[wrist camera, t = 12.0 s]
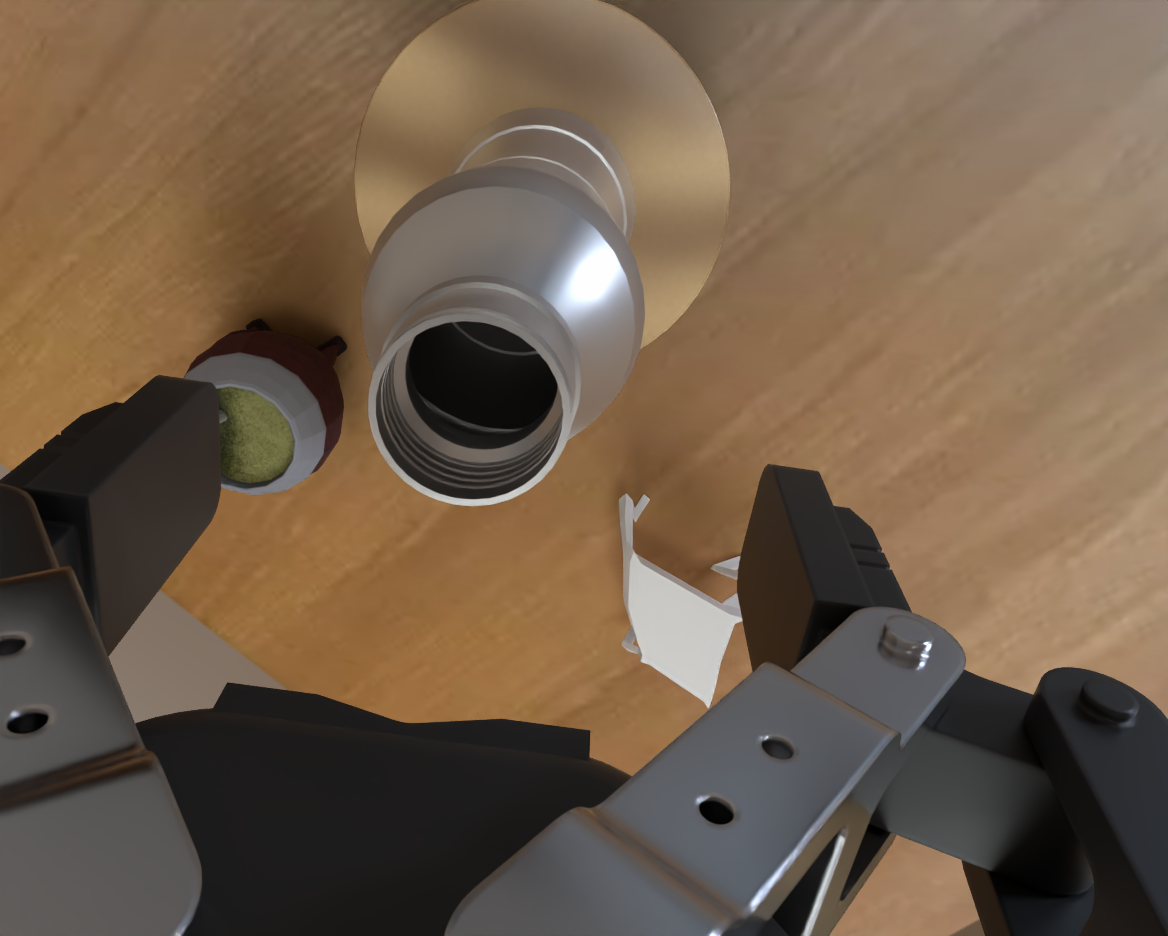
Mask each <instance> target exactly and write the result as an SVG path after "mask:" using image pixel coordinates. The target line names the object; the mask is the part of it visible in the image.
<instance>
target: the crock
mask: <svg viewBox="0 0 1168 936" xmlns="http://www.w3.org/2000/svg"><path fill="white" fill-rule="evenodd" d="M534 107H543V108H554V109H560V110H563V111H566V112H569V113H572V114H575V115H578V116H579V117H581V118H583V119H585V120H586V121H588V122H590V123H592V124H593V125H595V126H596V127H597V128H598V129H599V130H600V131H601V132H603V133H604V134H605V135H606V136H607V137H608V138H609V139H610V140H611V142H612V143H613V144H614V146H615V147H616V148H617V150H618V151H619V152H620V154H621V156H622V158H623V160H624V162H625V164H626V166H627V168H628V171H629V173H630V177H631V181H632V185H633V189H634V196H635V218H634V226H633V232H632V235H631V238H630V241H629V246H630V248H631V250H632V252H633V254H634V257H635V260H636V262H637V266H638V269H639V273H640V277H641V281H642V285H643V289H644V304H645V323H644V330H643V337H642V344H641V347H640V349H641V348H643V347H645V346H646V345H648V344H650V343H651V342H652V341H653V340H655V339H656V338H657V337H658V336H660V335H661V334H662V333H664V332H665V331H666V330H667V329H668V328H669V327H670V326H671V325H672V324H673V323H674V322H675V321H676V320H677V319H678V318H679V317H680V316H681V315H682V314H683V313H684V312H685V311H686V309H687V308H688V307H689V306H690V304H691V303H692V302H693V300H694V299H695V298H696V296H697V295H698V294H699V292H700V290H701V288H702V287H703V285H704V283H705V281H706V280H707V278H708V276H709V275H710V273H711V270H712V268H713V266H714V263H715V261H716V258H717V256H718V254H719V251H720V248H721V244H722V241H723V237H724V233H725V230H726V225H727V218H728V211H729V204H730V172H729V164H728V155H727V149H726V145H725V141H724V137H723V133H722V129H721V125H720V123H719V120H718V118H717V115H716V113H715V110H714V108H713V105H712V103H711V100H710V99H709V97H708V95H707V93H706V92H705V90H704V88H703V86H702V84H701V83H700V81H699V79H698V77H697V76H696V75H695V73H694V72H693V71H692V69H691V68H690V67H689V65H688V64H687V63H686V61H685V60H684V59H683V57H682V56H681V55H680V54H679V53H678V52H677V51H676V50H675V49H674V48H673V47H672V46H671V45H670V44H669V43H668V42H667V41H666V40H665V39H664V38H663V37H662V36H661V35H659V34H658V33H657V32H655V31H654V30H653V29H652V28H650V27H649V26H648V25H646V24H645V23H644V22H642V21H641V20H639V19H638V18H636V17H634V16H632V15H631V14H629V13H627V12H625V11H624V10H622V9H620V8H618V7H616V6H613V5H611V4H608V3H606V2H603V1H601V0H476V1H473V2H471V3H468V4H465V5H463V6H460V7H459V8H457V9H455V10H453V11H451V12H450V13H448V14H446V15H444V16H442V17H441V18H439V19H437V20H436V21H435V22H433V23H432V24H431V25H429V26H428V27H427V28H426V29H424V30H423V31H422V32H420V33H419V34H418V35H417V36H416V37H415V38H414V39H413V40H412V41H411V42H410V43H409V44H408V45H407V46H406V47H405V48H404V49H403V50H402V51H401V52H400V53H399V54H398V56H397V57H396V58H395V60H394V61H393V62H392V64H391V65H390V66H389V68H388V69H387V71H386V72H385V73H384V75H383V77H382V78H381V80H380V82H379V84H378V86H377V88H376V89H375V91H374V93H373V95H372V97H371V100H370V102H369V105H368V107H367V110H366V113H365V115H364V118H363V121H362V125H361V129H360V134H359V138H358V142H357V147H356V158H355V168H354V181H355V200H356V206H357V212H358V219H359V223H360V227H361V230H362V233H363V237H364V240H365V244H366V246H367V249H368V251H369V254H370V255H371V253H372V251H373V249H374V246H375V244H376V242H377V239H378V237H379V236H380V234H381V233H382V232H383V230H384V229H385V227H386V226H387V224H388V223H389V222H390V220H391V219H392V217H393V216H394V214H395V213H396V212H398V211H399V210H400V209H401V208H402V207H403V206H404V205H405V204H406V203H407V202H408V201H409V200H410V199H412V198H413V197H414V196H415V195H416V194H417V193H419V192H421V191H422V190H424V189H426V188H427V187H429V186H431V185H433V184H434V183H436V182H438V181H439V180H441V179H443V178H445V177H447V176H448V174H449V172H450V170H451V168H452V165H453V163H454V161H455V159H456V157H457V155H458V154H459V152H460V151H461V149H462V148H463V147H464V145H465V144H466V142H467V141H468V140H469V139H470V138H471V137H472V136H473V135H474V134H475V133H476V132H477V131H478V130H479V129H480V128H482V127H483V126H484V125H486V124H487V123H489V122H491V121H492V120H494V119H496V118H497V117H499V116H501V115H504V114H507V113H510V112H513V111H515V110H518V109H526V108H534Z"/></svg>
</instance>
